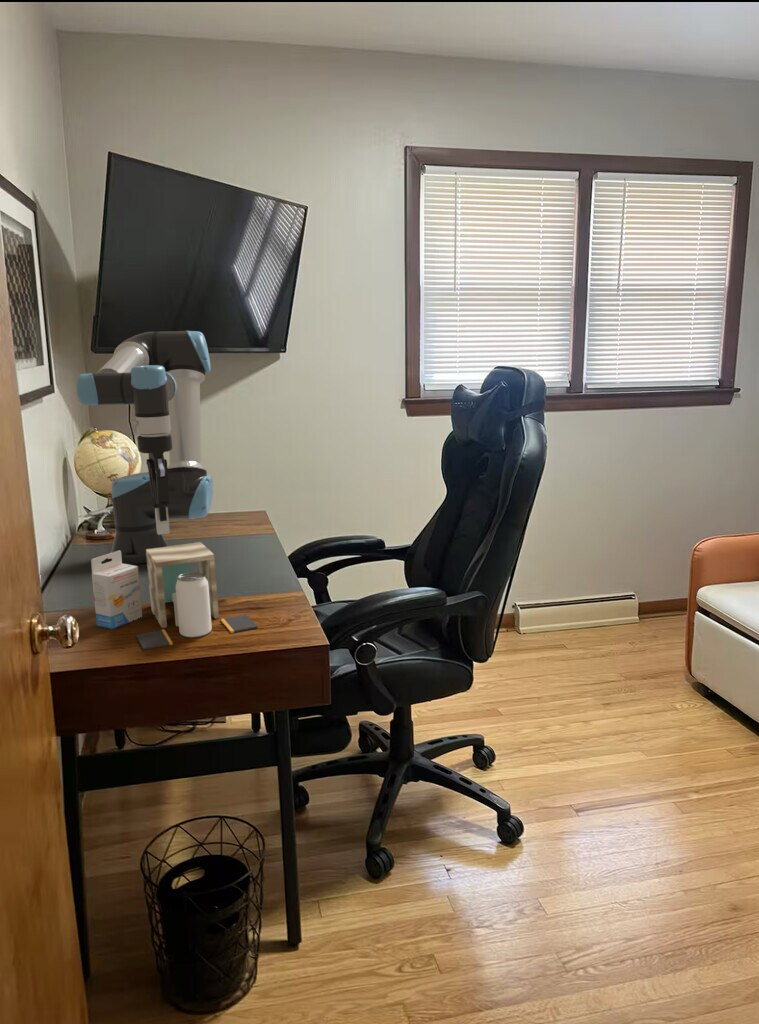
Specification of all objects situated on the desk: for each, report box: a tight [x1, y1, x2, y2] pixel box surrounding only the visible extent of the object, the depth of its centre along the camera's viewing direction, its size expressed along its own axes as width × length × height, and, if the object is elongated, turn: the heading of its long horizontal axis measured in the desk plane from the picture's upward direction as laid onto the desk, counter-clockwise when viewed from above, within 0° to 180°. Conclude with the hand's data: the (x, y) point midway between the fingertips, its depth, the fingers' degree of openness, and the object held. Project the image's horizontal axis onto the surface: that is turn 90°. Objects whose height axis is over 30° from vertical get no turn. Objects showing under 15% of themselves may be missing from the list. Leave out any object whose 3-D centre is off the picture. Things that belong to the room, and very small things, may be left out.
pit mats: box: [135, 614, 259, 651], centre depth 153 cm, size 8×23×1 cm, turn 117°
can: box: [176, 571, 213, 638], centre depth 152 cm, size 6×6×12 cm
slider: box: [162, 563, 192, 627], centre depth 163 cm, size 19×8×9 cm, turn 27°
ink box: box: [90, 550, 143, 630], centre depth 159 cm, size 8×5×15 cm, turn 152°
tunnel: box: [146, 541, 220, 629], centre depth 162 cm, size 12×12×14 cm
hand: (163, 533), depth 177 cm, fingers closed
